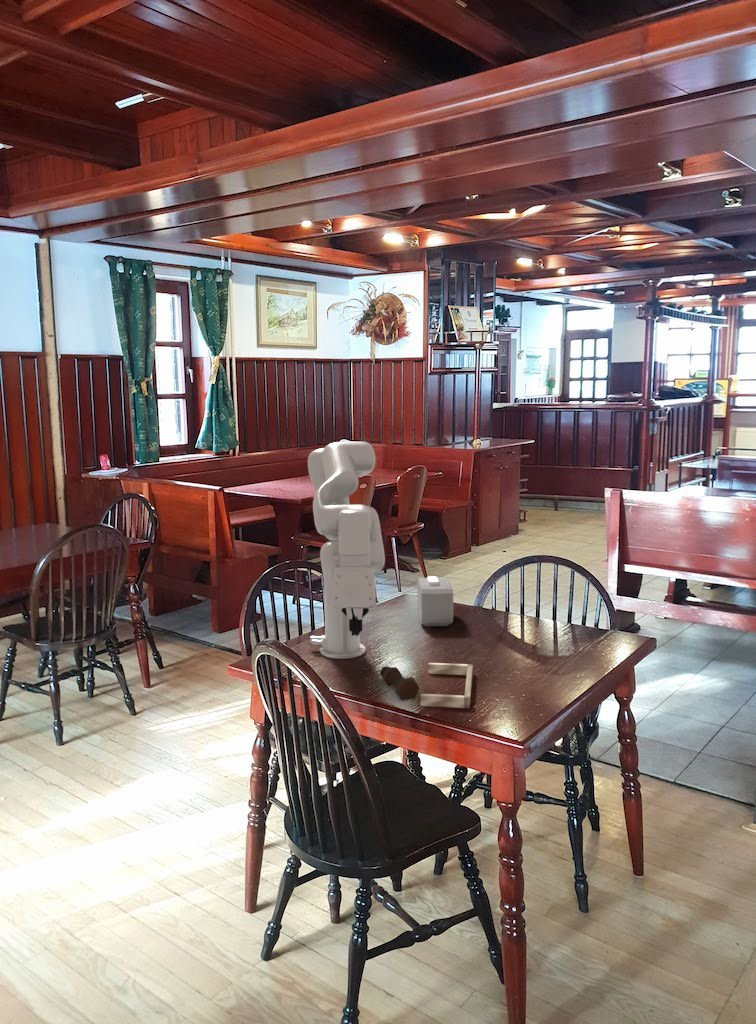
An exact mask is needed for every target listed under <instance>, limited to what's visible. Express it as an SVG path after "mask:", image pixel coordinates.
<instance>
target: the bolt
mask: <svg viewBox="0 0 756 1024" xmlns="http://www.w3.org/2000/svg"><path fill="white" fill-rule="evenodd" d="M379 675H380V676H381V678H382V680H383V682H384V684H385V685H386V684H387V685H388V686H387V685H386V686H387V687H393V688H395V689H394V691H395V692H396V694H397V696H398V698H399V699H400V700H401V701H410V700H409V699H412V700H414V698H415V699H416V697H417V695H418V694H419V690H420V687H419V686H420V685H419V684H418V683H417V682H416V680H415V678H414V677H406V678H405V677H403V674H402V673H401V671H400V670H399V668H398V667H395V666H394V667H393V666H392V667H391V666H382V667H381V669H380V673H379Z"/></svg>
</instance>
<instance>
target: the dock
mask: <svg viewBox="0 0 756 1024" xmlns="http://www.w3.org/2000/svg"><path fill="white" fill-rule="evenodd" d="M427 665H428V674H431V675H454V676H466V678H465V685H464V686H465V688H464V695H459V694H440V693H439V694H437V693H420V707H434V708H435V707H436V708H437V707H439V708H454V709H455V708H459V709H470V705H471V694H472V685H473V673H474V672H473V671H474V670H473V669H474V668H473V667H474V665H473V664H471V663H467V664H466V663H450V662H449V663H444V662H428V663H427Z"/></svg>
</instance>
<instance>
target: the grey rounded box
mask: <svg viewBox="0 0 756 1024" xmlns="http://www.w3.org/2000/svg"><path fill="white" fill-rule="evenodd" d="M416 590H417V592H416V593H417V595H416V596H417V612H418V618H419V622H420V625H423V627H448V626H449V625H451V624H453V621H454V591H453V588H452V585H451V582H450V580H449V579H448V577H438V576H436V575H429V576H426V577H418V578H417V589H416Z"/></svg>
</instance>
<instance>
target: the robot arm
mask: <svg viewBox="0 0 756 1024" xmlns="http://www.w3.org/2000/svg"><path fill="white" fill-rule="evenodd" d="M375 466H376V453H375V449H374V448H373V446H372V445H371V444H370V443H369V442H367V441H336V442H335V441H334V442H331V443H329V444H327V445H325V447H322V448H318V449H314V450H313V451H311V452H310V453H309V455H308V456H307V469H308V470H307V471H308V476H309V479H310V482H311V484H312V488H313V489H314V491H315V494H314V497H313V500H312V513H313V521H314V526H315V528H316V531H317V533H318V534H320V535H322V536H325V538H326V539H328V541H327V542H325V543H324V544H323V545H322V546H321V548H320V551H319V557H320V559H319V560H320V563H321V569H322V576H323V591H324V593H323V596H324V598H323V599H324V634H323V635H321V636H317V635H311V636H310V637H309V638H310V639H309V642H310V643H311V644H312V645H314V646H319V645H320V647H319V653H320V655H322V656H324V657H326V658H329V659H336V660H337V659H338V660H347V659H354V658H357V657H360V656H362V655H364V654H365V652H366V646H365V645H364V644H362V643H361V641H360V639H361V635H360V634H361V632H362V631H363V618H364V617H365V616H366V615H367V614H369V613H373V612H376V611H377V610H378V608H379V607H378V604H377V597H378V596H377V585H376V584H377V583H376V576H375V574H376V573H379V572H381V571H382V570H383V569H384V567H385V562H386V557H385V549H384V542H383V534H382V530H381V523H380V519H379V518H380V517H379V514H378V512H377V510H376V509H375V508H374V507H372V506H369V505H366V504H359V503H357V504H356V503H355V504H350V503H351V502H350V496H351V495H352V494H353V493H355V492H356V491H357V489H358V487H359V477H364V476H367V475H369V474H370V473H372V472H373V471H374V469H375Z"/></svg>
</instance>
